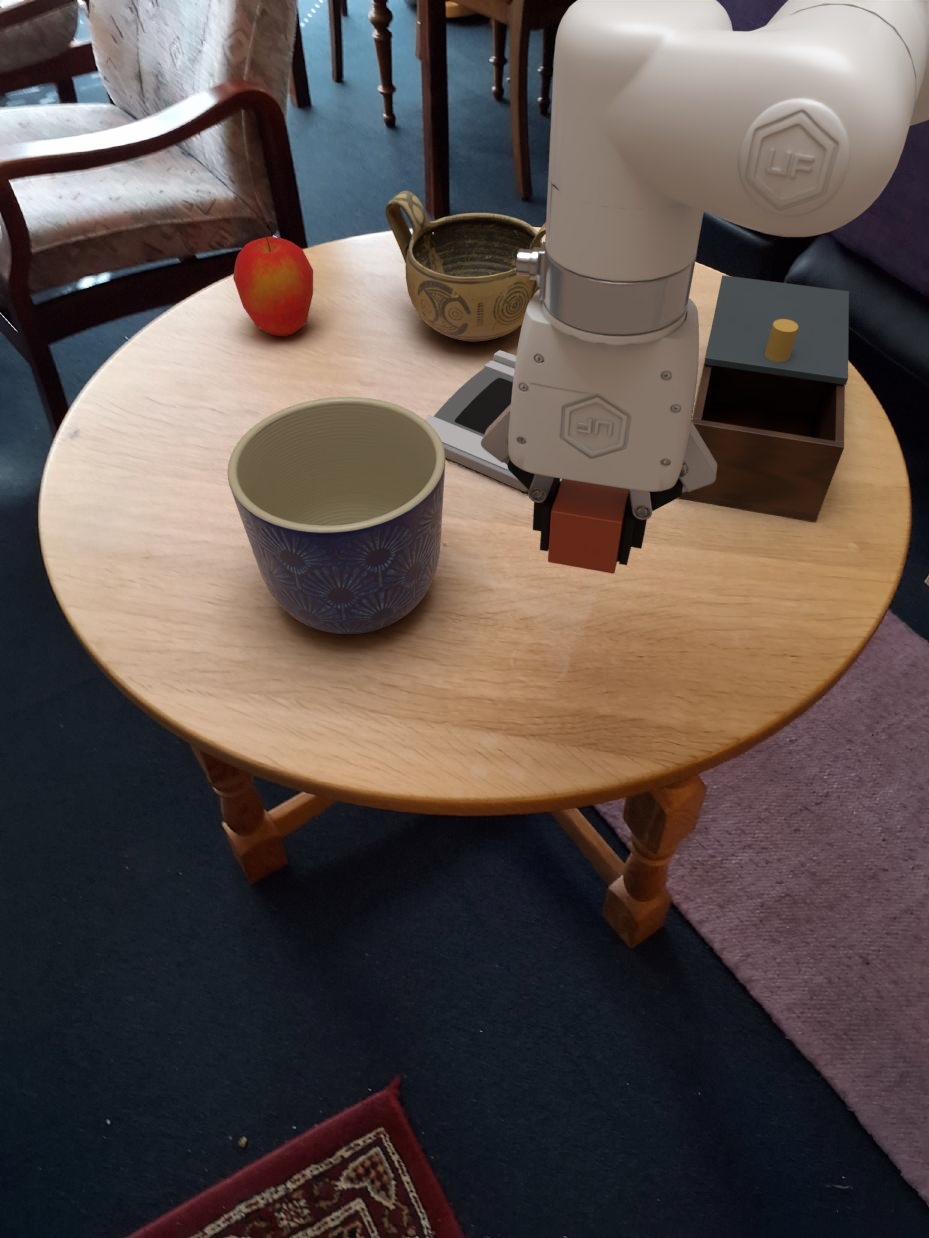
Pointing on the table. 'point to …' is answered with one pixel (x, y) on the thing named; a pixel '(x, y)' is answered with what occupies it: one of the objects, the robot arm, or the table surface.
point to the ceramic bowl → (464, 269)
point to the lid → (780, 330)
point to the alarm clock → (478, 418)
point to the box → (769, 440)
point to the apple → (274, 284)
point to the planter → (342, 509)
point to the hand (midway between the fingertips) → (587, 541)
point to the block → (587, 525)
